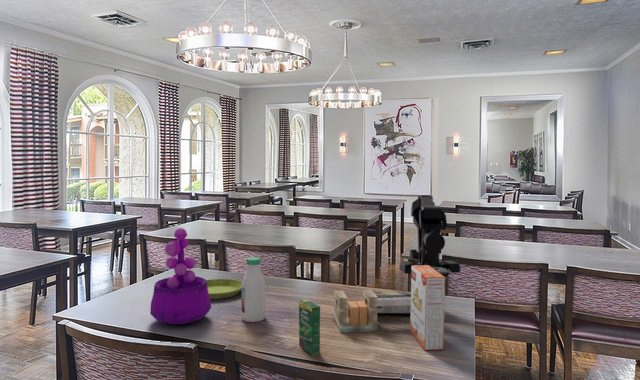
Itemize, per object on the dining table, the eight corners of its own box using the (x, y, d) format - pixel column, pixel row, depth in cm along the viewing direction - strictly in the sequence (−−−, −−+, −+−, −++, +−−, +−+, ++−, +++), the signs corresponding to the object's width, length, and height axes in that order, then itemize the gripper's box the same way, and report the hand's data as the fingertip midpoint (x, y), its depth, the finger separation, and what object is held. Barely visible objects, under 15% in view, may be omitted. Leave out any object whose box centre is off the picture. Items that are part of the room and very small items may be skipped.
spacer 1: (354, 318, 146) (354, 301, 146) (358, 325, 141) (358, 307, 140) (347, 319, 146) (347, 301, 146) (350, 325, 140) (350, 307, 140)
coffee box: (364, 290, 160) (409, 291, 160) (364, 309, 159) (410, 309, 160) (368, 294, 150) (416, 294, 151) (368, 313, 150) (416, 314, 150)
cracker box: (408, 331, 138) (410, 264, 137) (427, 331, 139) (430, 264, 137) (422, 351, 124) (425, 276, 123) (444, 350, 125) (446, 276, 123)
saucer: (254, 291, 178) (254, 283, 178) (216, 305, 161) (216, 296, 161) (216, 283, 189) (216, 275, 189) (177, 295, 172) (177, 287, 172)
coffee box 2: (297, 345, 127) (298, 299, 126) (306, 343, 129) (307, 298, 128) (310, 356, 120) (311, 308, 119) (320, 354, 121) (321, 306, 121)
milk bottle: (269, 316, 150) (269, 257, 149) (258, 324, 143) (259, 261, 141) (248, 313, 153) (248, 255, 151) (237, 321, 145) (237, 259, 144)
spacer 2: (363, 318, 147) (363, 300, 147) (367, 324, 141) (367, 306, 141) (355, 318, 147) (356, 301, 146) (359, 325, 141) (359, 306, 141)
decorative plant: (187, 335, 133) (186, 234, 131) (137, 326, 140) (135, 230, 138) (222, 314, 151) (222, 225, 149) (176, 307, 157) (175, 222, 155)
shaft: (430, 310, 149) (431, 279, 148) (434, 313, 146) (435, 281, 145) (370, 313, 146) (371, 281, 145) (373, 316, 143) (373, 283, 142)
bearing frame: (368, 317, 150) (369, 287, 150) (378, 330, 139) (379, 298, 138) (333, 318, 149) (333, 288, 148) (340, 332, 137) (340, 300, 136)
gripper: (447, 240, 155) (445, 285, 156) (394, 241, 152) (393, 286, 153) (462, 247, 144) (460, 294, 145) (406, 247, 141) (404, 296, 142)
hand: (429, 292), depth 147 cm, fingers open, 4 cm apart
